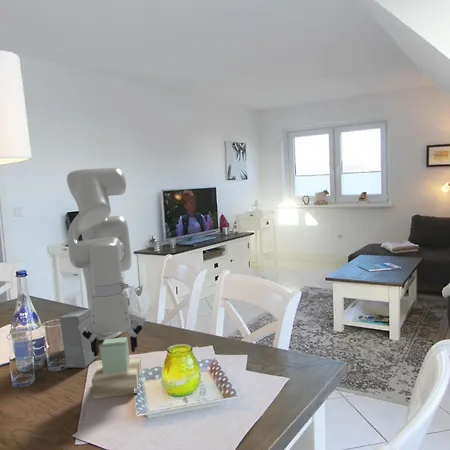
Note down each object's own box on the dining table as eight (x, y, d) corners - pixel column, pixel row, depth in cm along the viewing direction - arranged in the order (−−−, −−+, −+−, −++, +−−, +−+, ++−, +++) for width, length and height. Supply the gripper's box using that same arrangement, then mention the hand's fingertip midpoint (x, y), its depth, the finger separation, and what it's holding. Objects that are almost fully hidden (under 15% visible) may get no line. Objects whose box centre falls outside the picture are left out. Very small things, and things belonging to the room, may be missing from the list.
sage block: (107, 364, 115) (104, 339, 114) (129, 361, 115) (127, 337, 115) (103, 374, 109) (100, 348, 108) (126, 371, 109) (124, 345, 109)
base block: (102, 378, 117) (100, 361, 117) (141, 374, 118) (140, 356, 118) (93, 398, 107) (91, 379, 106) (137, 393, 108) (135, 374, 107)
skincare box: (85, 368, 125) (79, 316, 124) (63, 368, 127) (57, 317, 125) (99, 356, 133) (93, 307, 132) (79, 356, 135) (73, 308, 133)
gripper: (143, 282, 114) (149, 343, 116) (77, 288, 113) (85, 350, 115) (140, 289, 107) (147, 354, 109) (70, 296, 105) (78, 362, 107)
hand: (115, 352), depth 112 cm, fingers open, 9 cm apart
